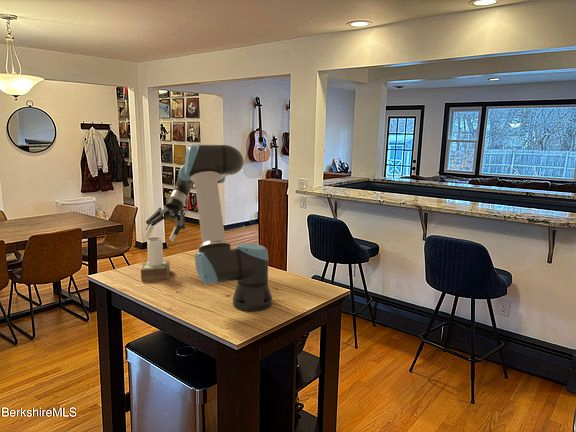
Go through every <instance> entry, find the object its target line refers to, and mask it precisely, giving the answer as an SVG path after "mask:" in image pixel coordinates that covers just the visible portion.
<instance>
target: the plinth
mask: <svg viewBox="0 0 576 432" xmlns="http://www.w3.org/2000/svg"><path fill="white" fill-rule="evenodd" d="M170 266H171V265H170V260H163V264H162V265H161V266H149V265H148V260H147V261H144V263H143V265H142V267H141V269H140V279H141V282H147V281H150V282H151V281H168V278H169V275H170V272H171V271H170Z"/></svg>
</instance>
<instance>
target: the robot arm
mask: <svg viewBox="0 0 576 432" xmlns="http://www.w3.org/2000/svg"><path fill="white" fill-rule="evenodd" d="M243 166H244V157H243V155H242V153H241V152H240V151H239V150H238V149H237V148H236V147H234V146H232V145H231V146H230V145H227V144H200V143H199V144H190V145H189V146H187V149H186V151H185V157H184V164H183V165H182V166H181V167H180V169H179V171H178V175H177V179H176V182H175V186H174V188H173V190H172V192H171V193H170V195H169V197H168V199H167V202H166V204H165V207H164V209H163V208H162V207H158V209H157V210H156V211H155V212H154V213H153V214H152V215H151V216H150V217H148V219H147V220H145V223H146V225H147V226H146V229H145V233H144V235H143V237H144V238H145V239H147V240H148V239H149V238H150V236H151V234H152V232H153V230H154V226H155V225H157V224H158V223H160V222H162V221H164V220H165V219H168V220H169V219H170V220H174V223H175V226H174V228H173V230H172V232H171V234H170V236H169V239H168V240H170V242H172V243H173V242H174V241H175V239H176V237H177V236H178V235H179V233H180V231H181V230H185V229H186V222H185V216H186V211H185V210H184V209H183V207H184V205H185V202H186V200H187V198H188V196H189V194H190V192H191V190H192V188H193V186H194V185H195V187H194V188H195V195H196V196H195V197H196V204H197V211H198V219H199V220H198V221H199V229H200V236H201V244H200V245H199V247H198V251H197V252H195V254H194V261H195V262H194V263H195V268H196V272H197V275H198V277H199V279H200V281H201V282H202V283H204V284H217V283H224V282H226V283H227V282H234V281H237V283H236V288H235V291H234V294H233V297H232V306H233V307H234V308H236V310H237V309H238V310H241V311H243V312H244V311H245V312H258V311H264V310H267V309H269V308H270V307H272V305H273V296H272V294H271V290H270V286H269V281H268V280H269V260H270V259H269V250H268V249H267V248H266V247H265V246H264V245H261V244H257V243H250V242H241V243H238V244H237V246H236V248H233V249H232V248H231V243H230V242H229V241H227V240H226V235H225V234H226V233H225V229H224V228H225V226H224V221H223V213H222V205H221V199H220V191H219V184H223V183H224V182H225V180H226V177H228V176H230V175H236V174H237V173H239V172H240V171H241V170H242V169H243ZM178 215H179V220H178Z"/></svg>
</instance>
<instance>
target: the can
mask: <svg viewBox="0 0 576 432" xmlns="http://www.w3.org/2000/svg"><path fill="white" fill-rule="evenodd" d="M146 247H147V261H148V265H149V266H161V265H162V264H163V261H164V253H163V252H164V249H163V248H164V247H163V240H162V238H161V237H158V236H157V237H149V238H148V239H147V246H146Z"/></svg>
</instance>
